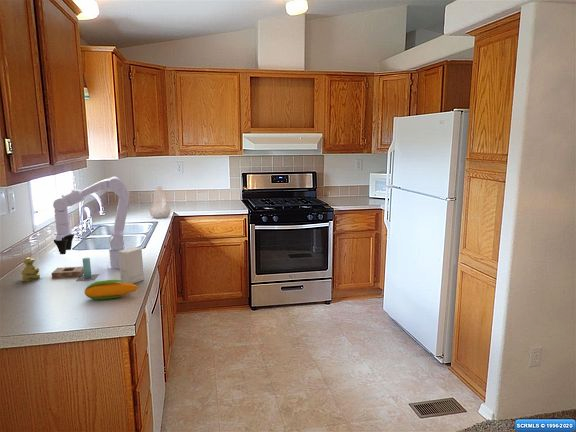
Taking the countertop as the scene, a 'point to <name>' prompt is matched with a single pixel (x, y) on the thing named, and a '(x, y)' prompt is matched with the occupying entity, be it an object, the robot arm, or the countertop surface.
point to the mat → (93, 277)
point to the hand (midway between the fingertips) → (65, 251)
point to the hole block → (68, 272)
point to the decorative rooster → (159, 204)
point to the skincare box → (131, 265)
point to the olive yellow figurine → (29, 271)
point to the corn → (109, 289)
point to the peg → (86, 268)
